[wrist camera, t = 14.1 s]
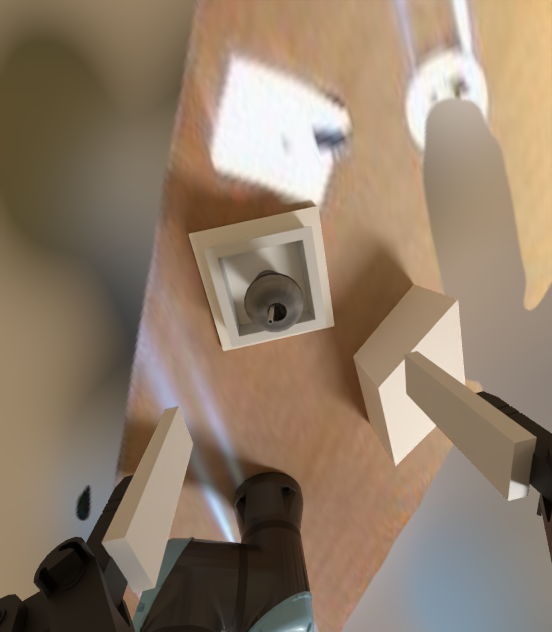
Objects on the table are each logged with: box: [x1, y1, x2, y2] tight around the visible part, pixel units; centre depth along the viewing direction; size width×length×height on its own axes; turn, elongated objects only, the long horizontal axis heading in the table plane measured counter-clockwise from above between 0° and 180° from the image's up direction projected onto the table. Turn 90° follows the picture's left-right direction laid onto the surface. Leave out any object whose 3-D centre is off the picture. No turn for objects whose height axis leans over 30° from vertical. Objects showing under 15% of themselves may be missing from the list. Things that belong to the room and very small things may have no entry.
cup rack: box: [188, 206, 335, 351], centre depth 41 cm, size 20×20×6 cm
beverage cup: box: [244, 270, 303, 332], centre depth 33 cm, size 7×7×20 cm
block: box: [353, 284, 465, 466], centre depth 46 cm, size 15×30×11 cm, turn 171°
